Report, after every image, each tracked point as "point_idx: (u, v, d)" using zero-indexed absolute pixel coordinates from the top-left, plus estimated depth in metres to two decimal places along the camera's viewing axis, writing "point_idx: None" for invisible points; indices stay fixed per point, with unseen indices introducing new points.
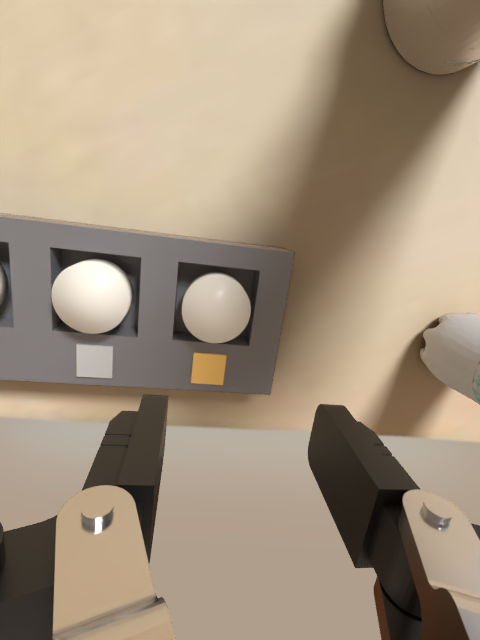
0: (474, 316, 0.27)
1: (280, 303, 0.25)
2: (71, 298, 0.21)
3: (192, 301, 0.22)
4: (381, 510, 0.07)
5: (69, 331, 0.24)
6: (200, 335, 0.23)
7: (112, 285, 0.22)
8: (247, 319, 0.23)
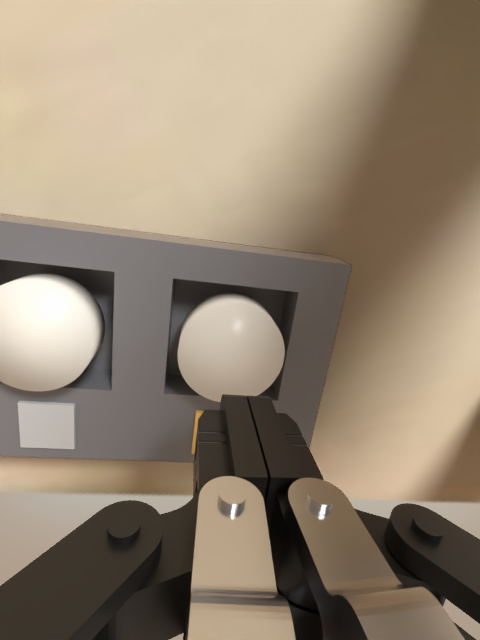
0: None
1: (327, 340, 0.16)
2: (0, 338, 0.13)
3: (194, 341, 0.14)
4: (276, 499, 0.07)
5: None
6: (206, 391, 0.15)
7: (66, 318, 0.13)
8: (279, 367, 0.15)
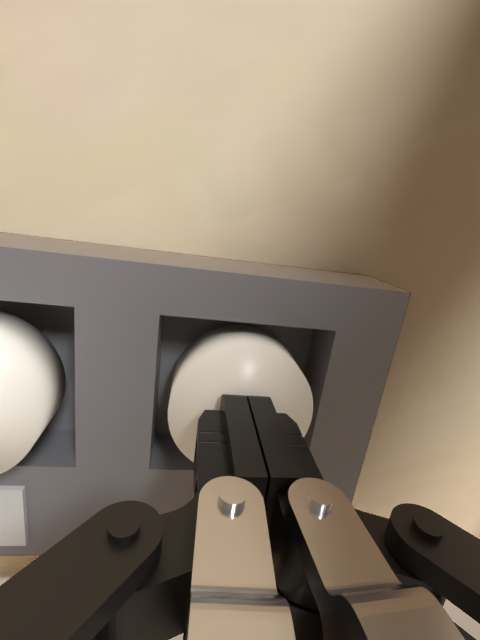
0: None
1: (372, 393, 0.12)
2: None
3: (190, 397, 0.10)
4: (277, 499, 0.07)
5: None
6: None
7: None
8: (305, 428, 0.11)
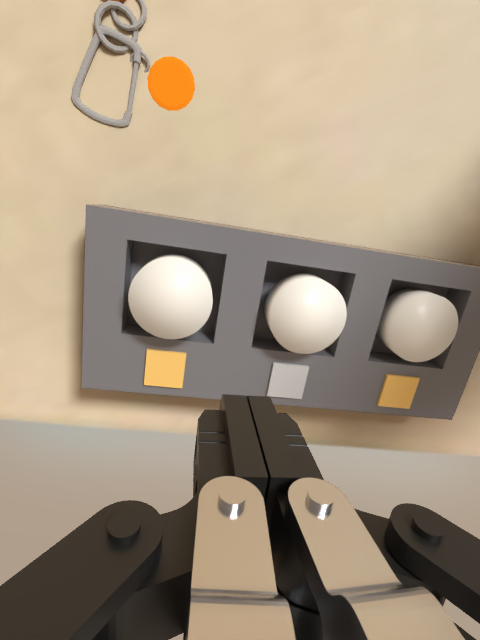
0: None
1: None
2: (290, 316, 0.20)
3: (403, 318, 0.22)
4: (277, 499, 0.07)
5: (266, 349, 0.22)
6: (402, 353, 0.22)
7: (334, 304, 0.20)
8: (452, 338, 0.22)
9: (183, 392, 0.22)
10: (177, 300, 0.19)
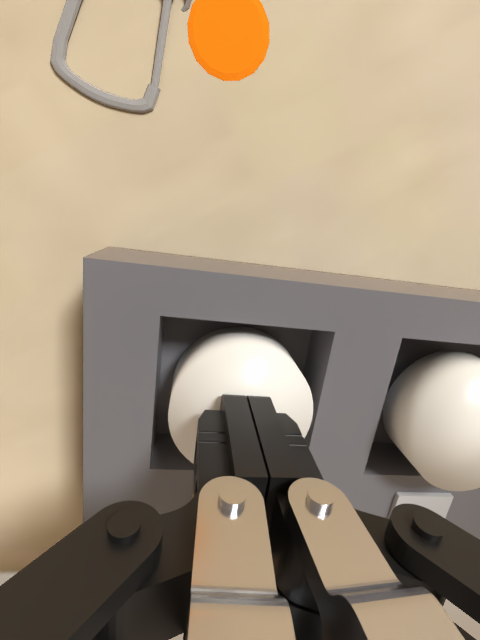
0: None
1: None
2: (448, 436, 0.11)
3: None
4: (277, 499, 0.07)
5: (386, 472, 0.13)
6: None
7: None
8: None
9: None
10: None
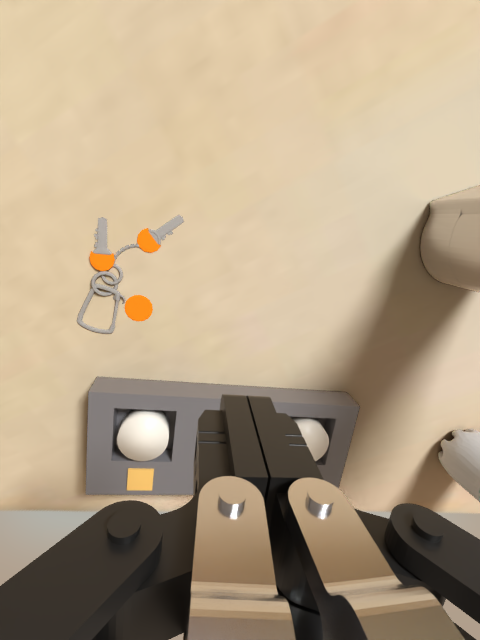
0: (478, 437, 0.39)
1: (348, 437, 0.36)
2: None
3: None
4: (277, 499, 0.07)
5: None
6: None
7: None
8: (326, 449, 0.35)
9: (153, 492, 0.34)
10: (146, 439, 0.32)
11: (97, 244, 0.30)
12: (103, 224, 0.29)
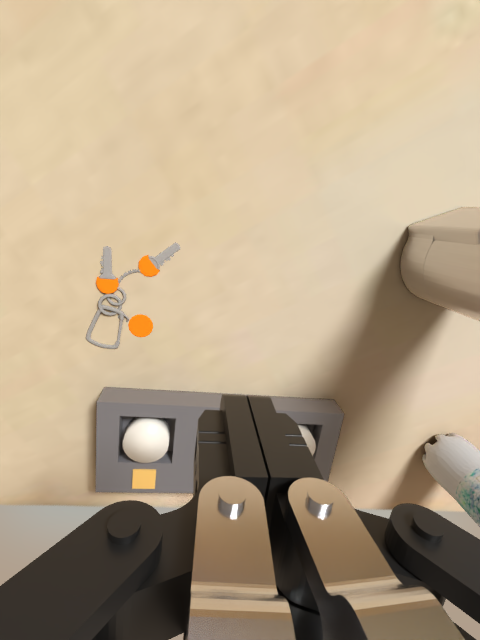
0: (458, 442, 0.41)
1: (334, 442, 0.39)
2: None
3: None
4: (276, 499, 0.07)
5: None
6: None
7: None
8: (313, 452, 0.38)
9: (156, 490, 0.38)
10: (149, 444, 0.35)
11: (103, 270, 0.33)
12: (108, 252, 0.33)
